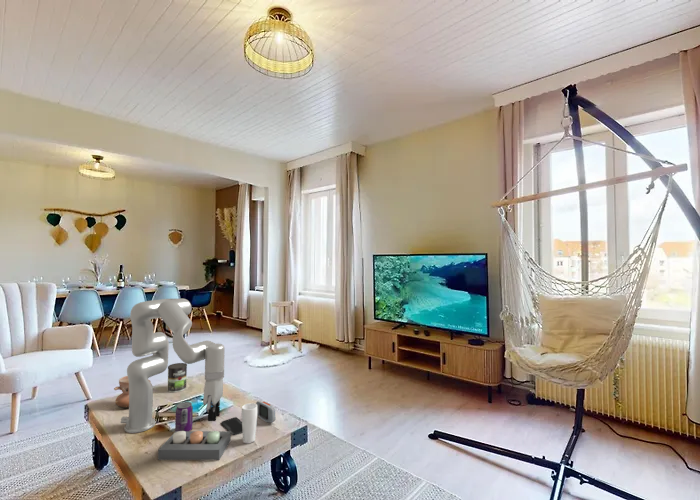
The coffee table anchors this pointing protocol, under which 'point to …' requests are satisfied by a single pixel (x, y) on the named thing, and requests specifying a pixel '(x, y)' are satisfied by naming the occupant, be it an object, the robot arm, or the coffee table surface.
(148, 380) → the robot arm
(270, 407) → the handheld gaming console
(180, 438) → the button ivory
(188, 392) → the coffee table surface
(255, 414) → the drinking glass
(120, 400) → the ceramic jug
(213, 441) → the button sage
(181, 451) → the grey slotted block
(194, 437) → the button terracotta
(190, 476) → the coffee table surface
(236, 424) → the phone
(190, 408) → the beverage can
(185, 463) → the coffee table surface
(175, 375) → the coffee can
